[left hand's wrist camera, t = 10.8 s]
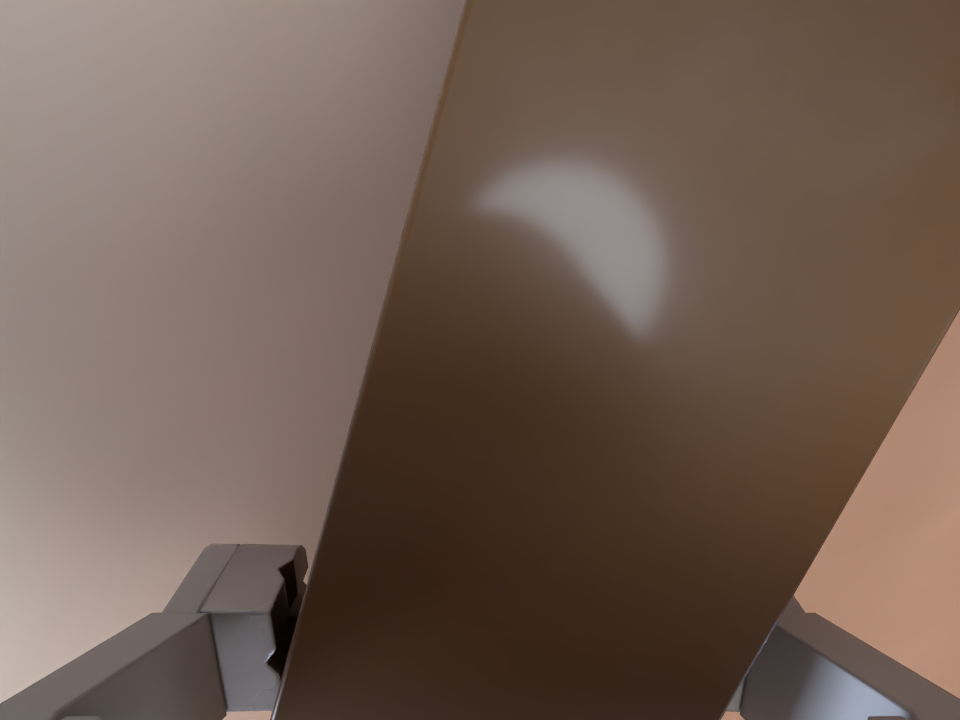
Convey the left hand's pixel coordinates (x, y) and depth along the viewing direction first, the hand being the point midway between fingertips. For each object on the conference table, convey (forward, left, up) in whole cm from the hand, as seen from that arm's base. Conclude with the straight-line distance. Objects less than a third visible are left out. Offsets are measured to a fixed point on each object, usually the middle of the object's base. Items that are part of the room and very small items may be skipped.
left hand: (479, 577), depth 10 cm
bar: (+7, +20, -3) cm, 21 cm away
